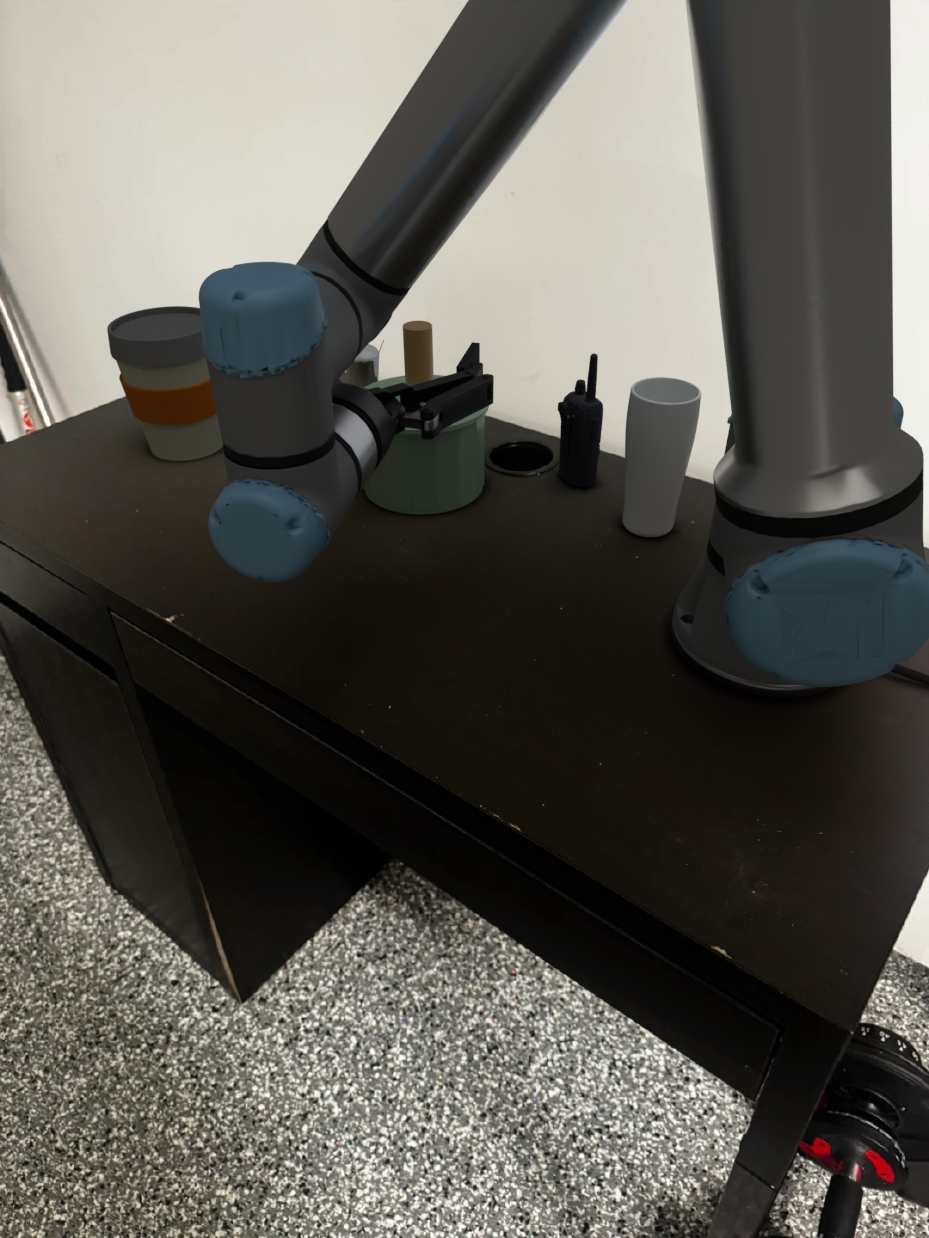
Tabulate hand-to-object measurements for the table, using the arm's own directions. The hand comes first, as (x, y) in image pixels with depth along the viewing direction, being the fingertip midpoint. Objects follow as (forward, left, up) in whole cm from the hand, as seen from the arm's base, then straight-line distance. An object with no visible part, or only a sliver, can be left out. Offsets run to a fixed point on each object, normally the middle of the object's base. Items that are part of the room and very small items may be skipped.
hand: (408, 351), depth 87 cm
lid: (+2, -4, -8) cm, 9 cm away
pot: (+2, -4, -17) cm, 18 cm away
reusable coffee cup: (+31, +8, -17) cm, 37 cm away
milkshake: (+21, -13, -17) cm, 30 cm away
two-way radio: (-10, -16, -17) cm, 25 cm away
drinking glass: (-22, -13, -17) cm, 30 cm away
